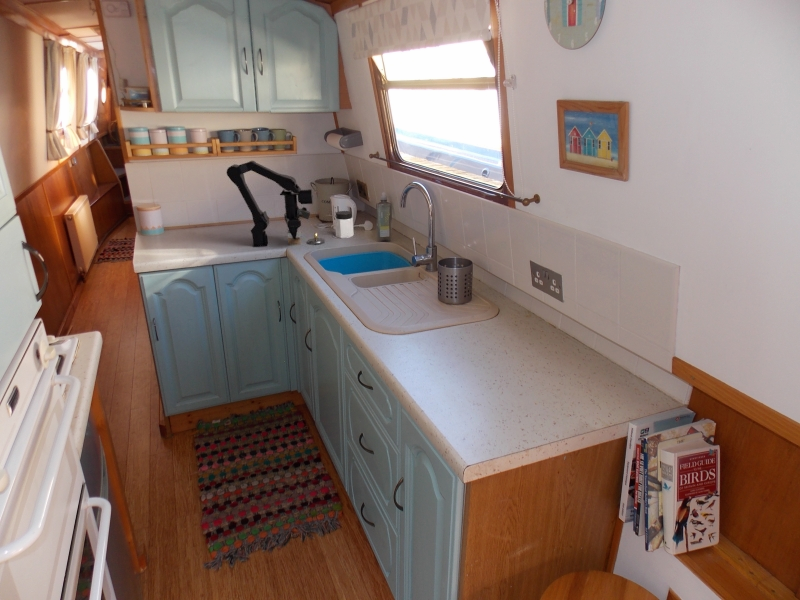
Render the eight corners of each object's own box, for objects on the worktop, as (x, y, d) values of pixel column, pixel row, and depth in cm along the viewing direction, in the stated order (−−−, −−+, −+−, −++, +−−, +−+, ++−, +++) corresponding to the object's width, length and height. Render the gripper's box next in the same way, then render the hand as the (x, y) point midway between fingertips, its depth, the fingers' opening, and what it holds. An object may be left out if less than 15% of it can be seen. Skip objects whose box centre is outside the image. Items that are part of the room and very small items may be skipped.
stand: (288, 245, 270) (287, 233, 268) (288, 243, 272) (287, 232, 270) (300, 244, 272) (299, 233, 270) (300, 243, 274) (299, 231, 272)
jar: (356, 236, 285) (355, 212, 280) (343, 239, 280) (342, 215, 275) (346, 233, 291) (345, 210, 287) (333, 235, 286) (331, 212, 282)
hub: (309, 245, 270) (308, 235, 268) (307, 241, 277) (306, 231, 275) (325, 244, 272) (325, 234, 270) (323, 239, 279) (322, 230, 277)
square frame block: (287, 238, 267) (287, 233, 266) (286, 234, 273) (285, 230, 272) (301, 237, 269) (301, 232, 268) (299, 233, 274) (299, 228, 274)
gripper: (310, 207, 259) (313, 240, 264) (306, 199, 276) (308, 230, 281) (286, 208, 256) (289, 242, 262) (282, 200, 273) (285, 232, 278)
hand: (293, 236), depth 271 cm, fingers open, 9 cm apart
